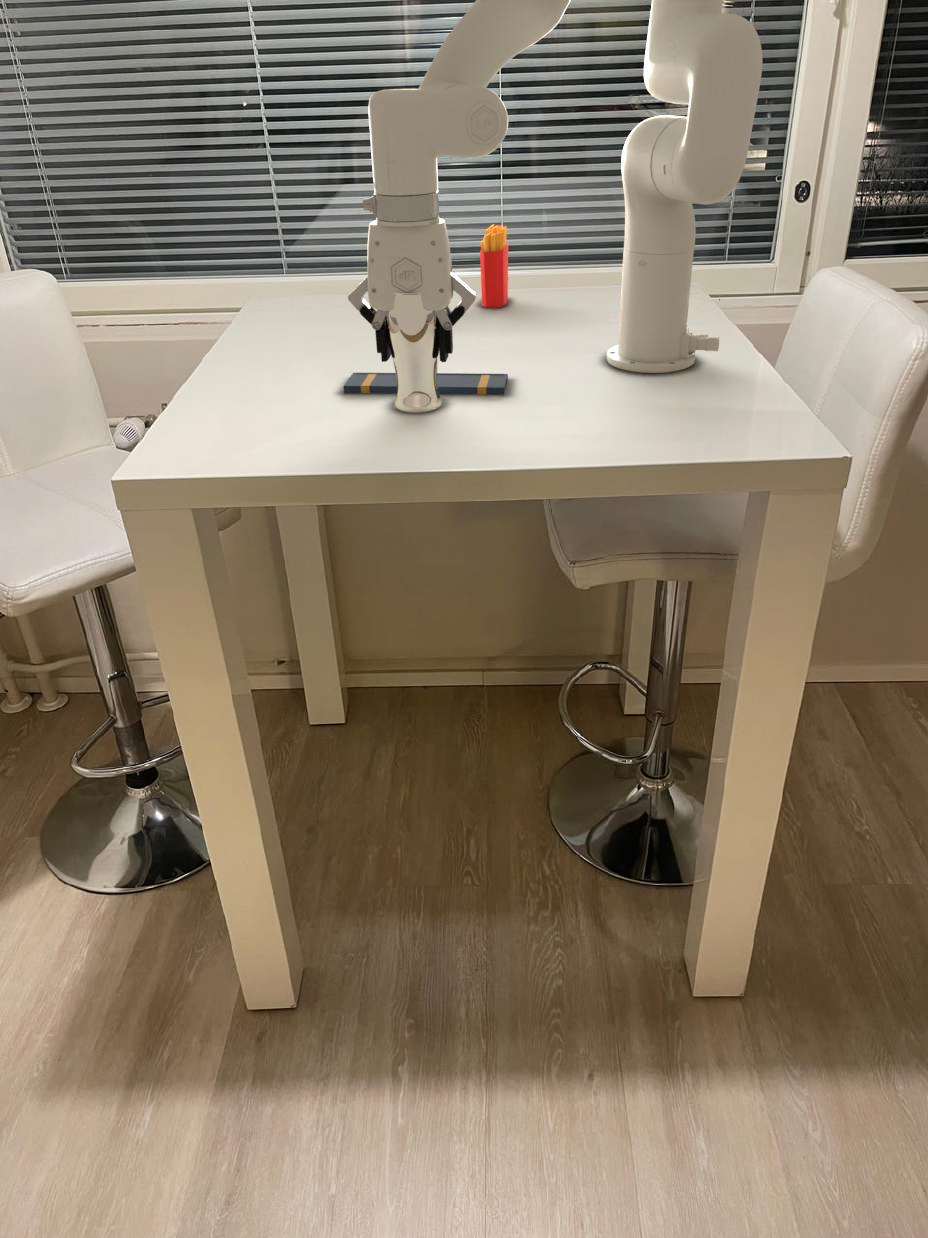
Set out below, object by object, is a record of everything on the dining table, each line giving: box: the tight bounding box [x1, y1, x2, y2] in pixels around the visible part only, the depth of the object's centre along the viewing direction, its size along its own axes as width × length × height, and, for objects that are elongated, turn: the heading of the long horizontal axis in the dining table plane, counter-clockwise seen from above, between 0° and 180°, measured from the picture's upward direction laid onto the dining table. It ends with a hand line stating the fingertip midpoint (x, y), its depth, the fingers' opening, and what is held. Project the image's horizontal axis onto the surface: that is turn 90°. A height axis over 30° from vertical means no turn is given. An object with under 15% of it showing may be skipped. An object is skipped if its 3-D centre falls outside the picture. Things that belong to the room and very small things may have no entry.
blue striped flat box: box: [343, 372, 509, 396], centre depth 130 cm, size 22×6×1 cm, turn 83°
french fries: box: [479, 223, 509, 308], centre depth 167 cm, size 9×4×13 cm, turn 168°
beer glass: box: [386, 292, 442, 414], centre depth 120 cm, size 7×7×15 cm
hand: (415, 357), depth 121 cm, fingers closed on beer glass, 6 cm apart
